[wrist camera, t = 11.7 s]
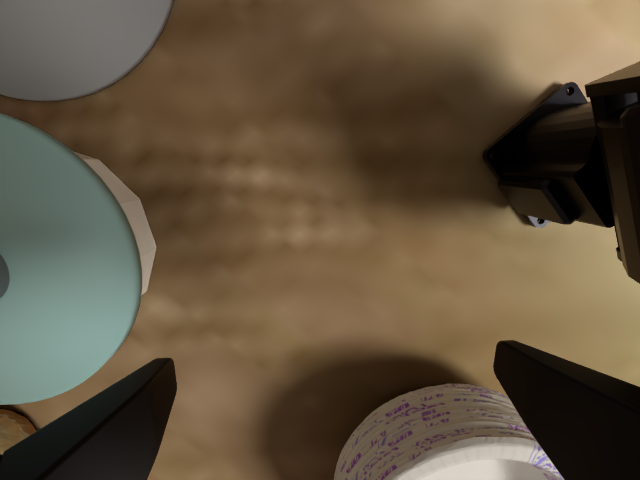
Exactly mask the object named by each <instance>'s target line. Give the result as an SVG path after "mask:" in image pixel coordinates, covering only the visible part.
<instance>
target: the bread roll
mask: <svg viewBox="0 0 640 480" xmlns="http://www.w3.org/2000/svg"><path fill="white" fill-rule="evenodd" d="M35 432H36V429H35V428H34V426H33V425H32V424H31V422H30V421H29V420H28V419H27V418H25V417H23V416H21V415H19V414H16V413H15V412H13V411H10V410H5V409H0V454H2V455H3V453H4V451H5V450H7V449H9V448H10V447H12V446H13V445H15V444H17V443H18V442H20V441H22V440H23V439H25V438H27V437H28V436H30V435H31V434H33V433H35Z"/></svg>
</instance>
